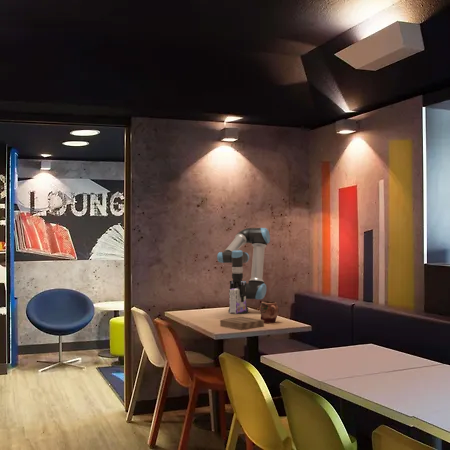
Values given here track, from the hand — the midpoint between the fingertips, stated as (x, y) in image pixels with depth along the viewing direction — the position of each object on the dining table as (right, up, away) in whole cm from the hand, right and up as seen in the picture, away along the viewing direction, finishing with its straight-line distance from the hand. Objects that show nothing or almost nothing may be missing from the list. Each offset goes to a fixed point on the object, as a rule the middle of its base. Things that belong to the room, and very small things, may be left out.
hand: (237, 306), depth 415 cm
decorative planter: (+21, -10, -10) cm, 25 cm away
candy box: (0, -4, 0) cm, 4 cm away
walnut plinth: (+2, -10, -25) cm, 27 cm away
